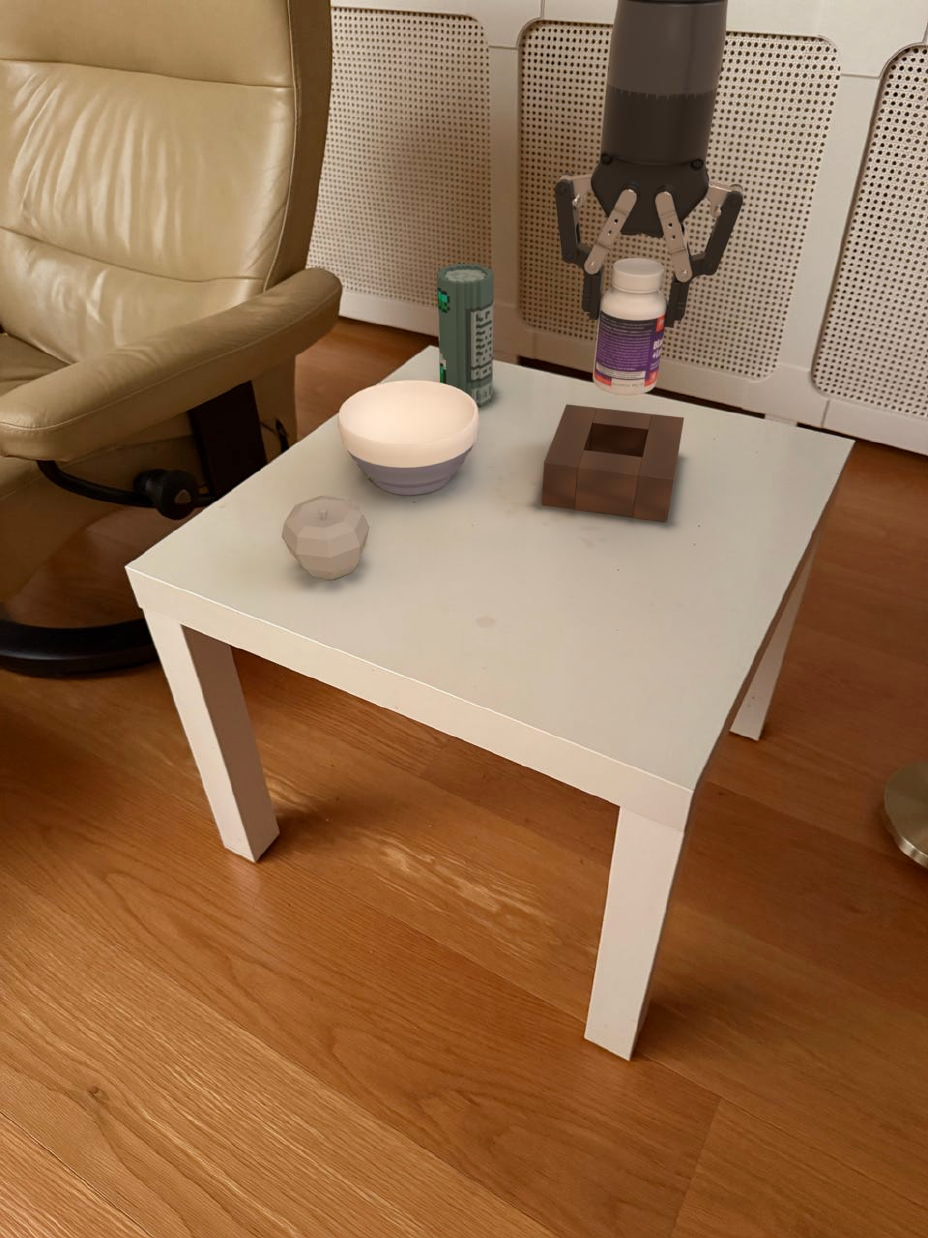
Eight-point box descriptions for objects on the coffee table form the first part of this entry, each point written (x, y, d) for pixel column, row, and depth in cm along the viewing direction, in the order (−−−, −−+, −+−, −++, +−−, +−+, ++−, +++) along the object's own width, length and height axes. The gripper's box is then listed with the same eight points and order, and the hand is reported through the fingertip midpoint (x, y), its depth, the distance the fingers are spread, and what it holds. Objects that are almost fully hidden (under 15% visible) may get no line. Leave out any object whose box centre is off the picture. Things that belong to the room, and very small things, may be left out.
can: (462, 380, 112) (460, 260, 102) (500, 394, 109) (503, 271, 99) (431, 398, 108) (426, 275, 98) (470, 413, 105) (469, 287, 95)
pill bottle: (661, 397, 72) (679, 278, 66) (595, 397, 72) (608, 278, 66) (650, 368, 76) (667, 253, 70) (588, 368, 76) (599, 253, 70)
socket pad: (677, 458, 97) (684, 417, 93) (666, 522, 87) (674, 479, 84) (563, 444, 99) (566, 403, 96) (541, 505, 90) (543, 462, 87)
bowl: (470, 436, 101) (470, 374, 96) (488, 507, 90) (488, 441, 85) (343, 445, 100) (336, 383, 95) (345, 518, 89) (337, 451, 84)
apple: (390, 560, 83) (385, 502, 79) (336, 605, 78) (327, 545, 74) (326, 533, 87) (318, 476, 82) (270, 575, 82) (258, 516, 77)
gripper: (548, 83, 58) (535, 330, 69) (772, 93, 56) (721, 348, 67) (566, 63, 64) (551, 295, 75) (771, 71, 61) (724, 310, 72)
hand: (632, 319), depth 71 cm, fingers closed on pill bottle, 5 cm apart
